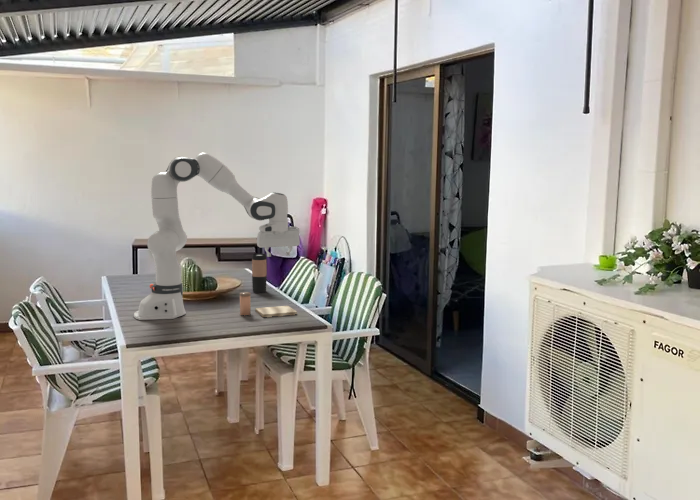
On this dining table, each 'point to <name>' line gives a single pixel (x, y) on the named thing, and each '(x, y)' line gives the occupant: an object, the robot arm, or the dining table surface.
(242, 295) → the terracotta jar
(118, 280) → the dining table surface
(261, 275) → the travel mug
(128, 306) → the dining table surface
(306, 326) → the dining table surface
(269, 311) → the birch board
